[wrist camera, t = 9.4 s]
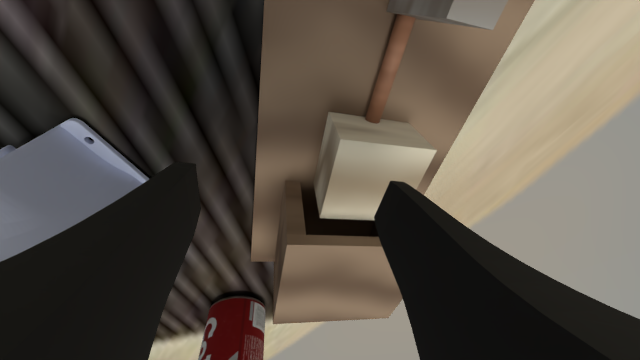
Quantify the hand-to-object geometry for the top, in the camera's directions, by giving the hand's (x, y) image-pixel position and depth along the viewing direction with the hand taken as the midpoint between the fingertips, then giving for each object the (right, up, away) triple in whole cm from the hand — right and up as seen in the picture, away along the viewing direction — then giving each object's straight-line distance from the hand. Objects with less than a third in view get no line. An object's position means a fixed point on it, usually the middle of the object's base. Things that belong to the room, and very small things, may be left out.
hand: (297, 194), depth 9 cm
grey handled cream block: (+5, +6, +7) cm, 10 cm away
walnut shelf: (+4, +3, +10) cm, 11 cm away
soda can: (-10, -15, +22) cm, 29 cm away
